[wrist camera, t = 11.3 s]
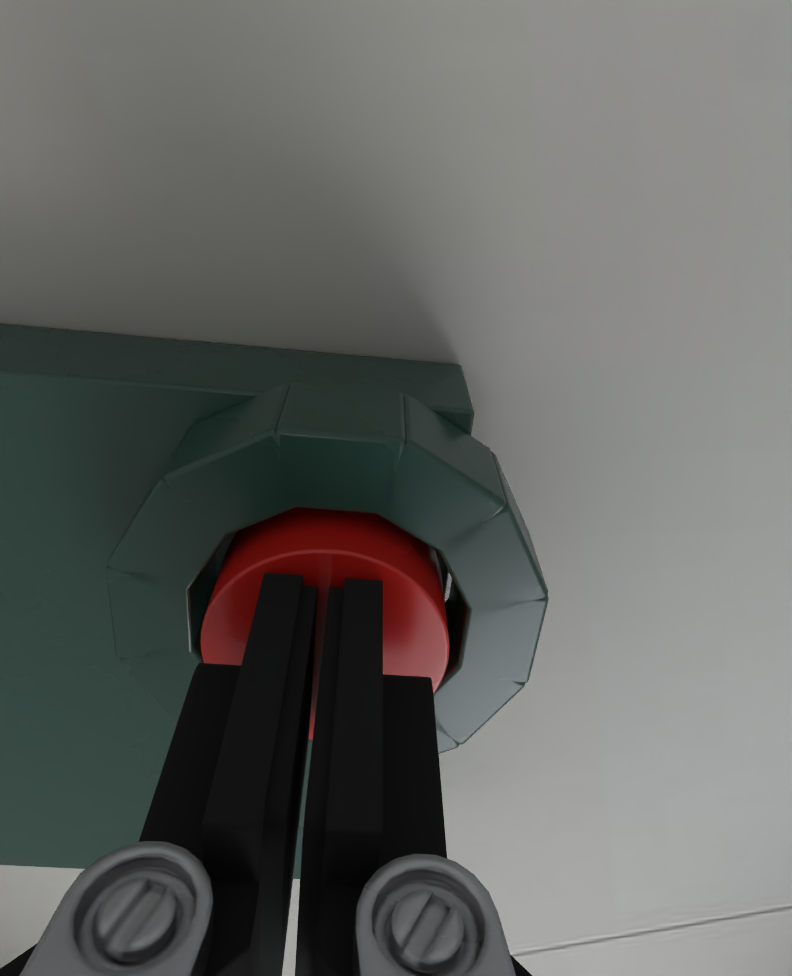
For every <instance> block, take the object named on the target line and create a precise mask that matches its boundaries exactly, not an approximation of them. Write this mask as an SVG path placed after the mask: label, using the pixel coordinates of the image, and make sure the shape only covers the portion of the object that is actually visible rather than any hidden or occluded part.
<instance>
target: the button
mask: <svg viewBox="0 0 792 976" xmlns="http://www.w3.org/2000/svg"><path fill="white" fill-rule="evenodd" d="M265 572H267V573H281V574H296V575H303V585H306V586H317V607H316V625H315V643H314V661H313V680H312V698H311V716H310V731H309V740H313V732H314V722H315V713H316V704H317V695H318V686H319V677H320V668H321V658H322V649H323V640H324V631H325V622H326V613H327V604H328V594H329V587H335V588H344V587H345V578H352V579H367V580H381V581H383V674H387V675H403V676H419V677H431V680H432V685H433V694H434V693H435V691H436V690H437V688H438V686H439V685H440V683H441V681H442V678H443V676H444V674H445V672H446V668H447V664H448V660H449V649H450V646H449V634H448V626H447V617H446V608H445V600H444V591H443V583H442V574H441V567H440V563H439V559H438V556H437V554H436V551H435V549H434V548H433V547H431V546H429V545H428V544H426V543H424V542H423V541H421V540H419V539H418V538H416V537H414V536H413V535H411V534H409V533H408V532H406V531H405V530H403V529H401V528H400V527H398V526H396V525H395V524H393V523H391V522H390V521H388V520H386V519H385V518H383V517H381V516H380V515H378V514H375V513H362V512H349V511H336V510H323V509H310V508H293V509H291V510H288V511H286V512H283V513H281V514H279V515H276V516H274V517H271V518H269V519H266V520H264V521H262V522H259V523H257V524H254V525H252V526H249V527H247V528H245V529H242V530H240V531H237V532H236V534H235V536H234V537H233V539H232V541H231V542H230V545H229V547H228V550H227V552H226V555H225V558H224V561H223V564H222V567H221V570H220V573H219V575H218V578H217V581H216V584H215V587H214V590H213V593H212V596H211V599H210V602H209V605H208V608H207V611H206V613H205V616H204V620H203V624H202V629H201V643H200V644H201V652H202V658H203V661H204V663H211V664H227V665H241V664H242V660H243V656H244V652H245V648H246V644H247V640H248V636H249V632H250V628H251V624H252V620H253V616H254V612H255V608H256V604H257V600H258V596H259V592H260V588H261V583H262V579H263V576H264V573H265Z"/></svg>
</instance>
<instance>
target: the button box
mask: <svg viewBox="0 0 792 976" xmlns="http://www.w3.org/2000/svg"><path fill="white" fill-rule="evenodd" d="M473 418H474V411H473V407H472V403H471V400H470V396H469V392H468V389H467V385H466V381H465V378H464V374H463V370H462V367H461V366H460V365H457V364H446V363H434V362H423V361H412V360H400V359H389V358H378V357H367V356H355V355H344V354H333V353H322V352H310V351H299V350H288V349H276V348H265V347H254V346H243V345H231V344H220V343H209V342H197V341H186V340H175V339H164V338H152V337H141V336H130V335H119V334H107V333H96V332H85V331H73V330H62V329H51V328H40V327H28V326H17V325H6V324H0V865H15V866H36V867H58V868H79V869H86V868H88V867H89V866H90V865H91V864H92V863H94V862H95V861H96V860H97V859H98V858H100V857H101V856H103V855H105V854H107V853H109V852H111V851H113V850H115V849H117V848H119V847H121V846H125V845H129V844H134V843H138V842H139V839H140V836H141V833H142V830H143V827H144V824H145V821H146V817H147V814H148V811H149V808H150V805H151V802H152V799H153V796H154V793H155V790H156V787H157V784H158V781H159V778H160V775H161V771H162V768H163V765H164V762H165V759H166V756H167V753H168V750H169V747H170V744H171V741H172V738H173V735H174V732H175V728H176V725H177V722H178V719H179V716H180V713H181V710H182V707H183V704H184V701H185V698H186V695H187V692H188V689H189V686H190V682H191V679H192V676H193V674H194V671H195V669H196V667H197V665H198V664H199V663H204V661H203V658H202V652H201V644H200V643H201V629H202V624H203V620H204V616H205V613H206V611H207V608H208V605H209V602H210V599H211V596H212V593H213V590H214V587H215V584H216V581H217V578H218V575H219V573H220V570H221V567H222V564H223V561H224V558H225V555H226V552H227V550H228V547H229V545H230V542H231V541H232V539H233V537H234V536H235V534H236V532H237V531H240V530H242V529H245V528H247V527H249V526H252V525H254V524H257V523H259V522H262V521H264V520H266V519H269V518H271V517H274V516H276V515H279V514H281V513H283V512H286V511H288V510H291V509H293V508H310V509H323V510H336V511H349V512H362V513H375V514H378V515H380V516H381V517H383V518H385V519H386V520H388V521H390V522H391V523H393V524H395V525H396V526H398V527H400V528H401V529H403V530H405V531H406V532H408V533H409V534H411V535H413V536H414V537H416V538H418V539H419V540H421V541H423V542H424V543H426V544H428V545H429V546H431V547H433V548H434V549H435V551H436V554H437V556H438V559H439V563H440V567H441V574H442V583H443V591H444V599H445V593H446V586H447V580H448V574H449V573H450V575H451V577H452V582H451V588H450V594H449V598H448V599H447V601H446V602H445V608H446V617H447V626H448V634H449V646H450V649H449V660H448V664H447V668H446V672H445V674H444V676H443V678H442V681H441V683H440V685H439V686H438V688H437V690H436V691H435V693H434V707H435V719H436V731H437V743H438V754H439V753H442V752H445V751H448V750H451V749H454V748H457V747H458V746H459V744H463V743H465V742H466V741H467V740H468V739H469V738H470V737H471V736H472V735H473V734H474V733H475V732H476V731H477V730H478V729H480V728H481V727H482V726H483V725H484V724H485V723H486V722H487V721H488V720H489V719H490V718H491V717H492V716H493V715H494V714H495V713H496V712H498V711H499V710H500V709H501V708H502V707H503V706H504V705H505V704H506V703H507V702H508V701H509V700H510V699H511V698H512V697H513V696H515V695H516V694H517V693H518V692H519V691H520V690H521V689H522V688H523V687H524V685H525V683H526V682H528V680H529V676H530V672H531V668H532V664H533V660H534V656H535V652H536V648H537V644H538V640H539V636H540V632H541V628H542V624H543V620H544V615H545V611H546V607H547V603H548V590H547V587H546V584H545V580H544V577H543V574H542V571H541V568H540V565H539V562H538V559H537V556H536V553H535V549H534V546H533V543H532V540H531V537H530V534H529V531H528V529H527V527H526V524H525V522H524V520H523V517H522V515H521V513H520V510H519V508H518V506H517V504H516V501H515V499H514V497H513V494H512V492H511V490H510V487H509V485H508V483H507V480H506V478H505V476H504V474H503V471H502V469H501V467H500V464H499V462H498V460H497V457H496V455H495V454H494V453H492V452H491V451H490V449H489V448H488V447H486V446H485V445H483V444H482V443H480V442H479V441H477V440H476V439H474V438H473V437H471V430H472V424H473ZM312 741H313V740H309V742H308V751H307V760H306V768H305V777H304V786H303V794H302V803H301V812H300V820H299V829H298V838H297V846H296V855H295V864H294V872H293V879H300V876H301V857H302V840H303V827H304V816H305V805H306V796H307V786H308V777H309V768H310V759H311V750H312Z"/></svg>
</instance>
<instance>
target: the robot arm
mask: <svg viewBox="0 0 792 976" xmlns="http://www.w3.org/2000/svg"><path fill="white" fill-rule="evenodd" d="M316 607H317V586H306V585H303V575H296V574H281V573H267V572H265V573H264V576H263V579H262V583H261V588H260V592H259V596H258V600H257V604H256V608H255V612H254V616H253V620H252V624H251V628H250V632H249V636H248V640H247V644H246V648H245V652H244V656H243V660H242V664H241V665H227V664H211V663H199V664H198V665H197V667H196V669H195V671H194V674H193V676H192V679H191V682H190V686H189V689H188V692H187V695H186V698H185V701H184V704H183V707H182V710H181V713H180V716H179V719H178V722H177V725H176V728H175V732H174V735H173V738H172V741H171V744H170V747H169V750H168V753H167V756H166V759H165V762H164V765H163V768H162V771H161V775H160V778H159V781H158V784H157V787H156V790H155V793H154V796H153V799H152V802H151V805H150V808H149V811H148V814H147V817H146V821H145V824H144V827H143V830H142V833H141V836H140V839H139V842H138V843H134V844H129V845H125V846H121V847H119V848H117V849H115V850H113V851H111V852H109V853H107V854H105V855H103V856H101V857H100V858H98V859H97V860H96V861H95V862H94V863H92V864H91V865H90V866H89V867H88V868H86V869H85V870H84V871H83V872H82V873H80V875H79V876H78V877H77V879H76V880H75V881H74V883H73V884H72V885H71V887H70V888H69V889H68V891H67V892H66V893H65V895H64V897H63V899H62V900H61V902H60V904H59V906H58V908H57V909H56V911H55V913H54V915H53V916H52V918H51V920H50V922H49V924H48V925H47V927H46V929H45V931H44V933H43V934H42V936H41V938H40V940H39V942H38V943H37V944H36V945H34V946H33V947H31V948H30V949H28V950H27V951H26V952H24V953H23V954H21V955H20V956H18V957H17V958H15V959H14V960H12V961H11V962H10V963H8V964H7V965H5V966H4V967H2V968H1V969H0V976H282V968H283V959H284V950H285V942H286V933H287V924H288V916H289V907H290V898H291V890H292V881H293V872H294V864H295V855H296V846H297V838H298V829H299V820H300V812H301V803H302V794H303V786H304V777H305V768H306V760H307V751H308V742H309V731H310V716H311V698H312V680H313V661H314V643H315V625H316ZM295 976H532V975H531V974H530V973H529V972H528V971H527V970H526V969H525V968H524V967H523V966H521V965H520V964H519V963H518V962H517V961H516V960H515V959H514V958H513V957H512V956H511V955H510V953H509V950H508V946H507V943H506V939H505V936H504V932H503V929H502V925H501V922H500V918H499V915H498V912H497V910H496V907H495V905H494V903H493V901H492V898H491V896H490V894H489V892H488V891H487V889H486V888H485V887H484V886H483V885H482V883H481V882H480V881H479V880H478V879H477V877H476V876H475V875H474V874H473V873H471V872H470V871H468V870H467V869H465V868H464V867H462V866H461V865H460V864H458V863H457V862H455V861H452V860H449V859H447V853H446V841H445V828H444V816H443V804H442V792H441V780H440V767H439V755H438V743H437V731H436V719H435V707H434V694H433V685H432V680H431V677H419V676H403V675H387V674H383V581H381V580H367V579H352V578H345V587H344V588H335V587H329V594H328V604H327V613H326V622H325V631H324V640H323V649H322V658H321V668H320V677H319V686H318V695H317V704H316V713H315V722H314V732H313V741H312V750H311V759H310V768H309V777H308V786H307V796H306V805H305V816H304V827H303V840H302V857H301V876H300V894H299V913H298V931H297V950H296V968H295Z"/></svg>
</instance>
